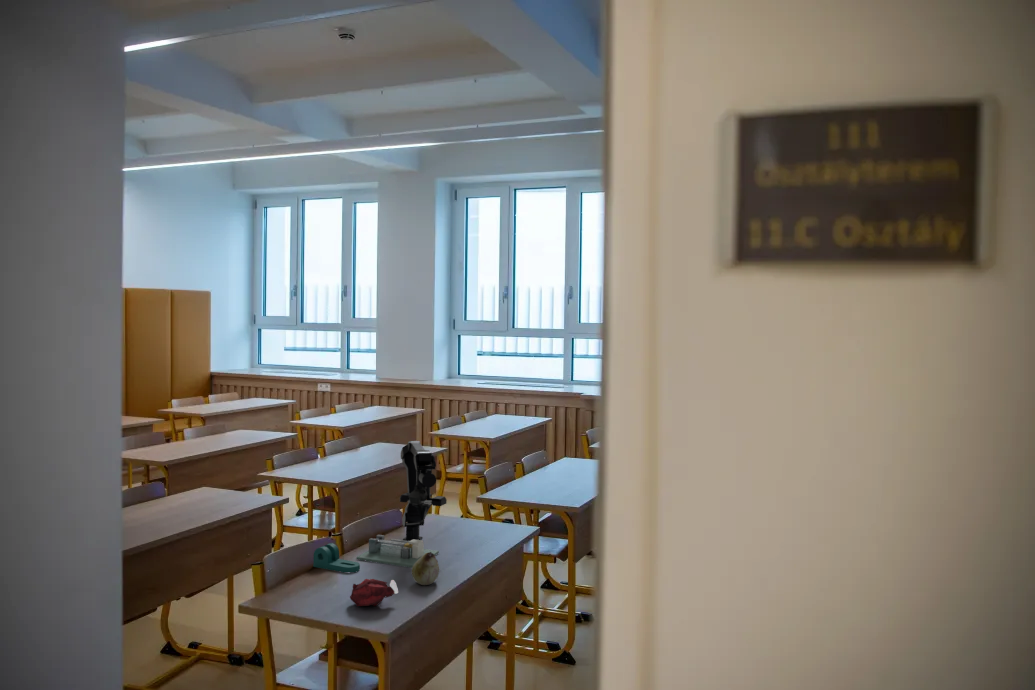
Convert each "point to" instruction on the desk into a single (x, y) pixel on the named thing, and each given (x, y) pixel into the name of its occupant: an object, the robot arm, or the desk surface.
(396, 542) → the gold-ended metal bar
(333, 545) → the bracket
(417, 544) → the white block
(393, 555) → the grey rail mechanism
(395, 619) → the desk surface
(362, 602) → the red meat drumstick
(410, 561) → the board
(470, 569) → the desk surface
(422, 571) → the fruit
